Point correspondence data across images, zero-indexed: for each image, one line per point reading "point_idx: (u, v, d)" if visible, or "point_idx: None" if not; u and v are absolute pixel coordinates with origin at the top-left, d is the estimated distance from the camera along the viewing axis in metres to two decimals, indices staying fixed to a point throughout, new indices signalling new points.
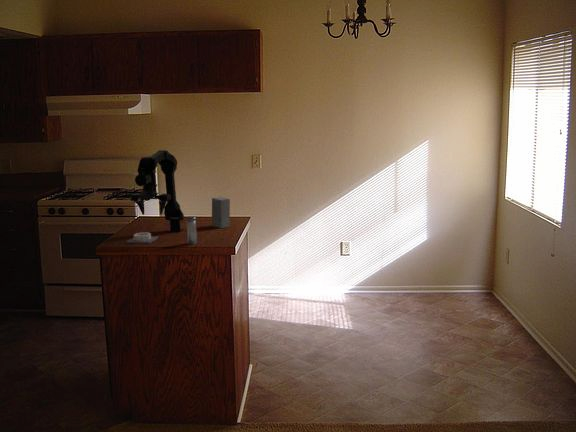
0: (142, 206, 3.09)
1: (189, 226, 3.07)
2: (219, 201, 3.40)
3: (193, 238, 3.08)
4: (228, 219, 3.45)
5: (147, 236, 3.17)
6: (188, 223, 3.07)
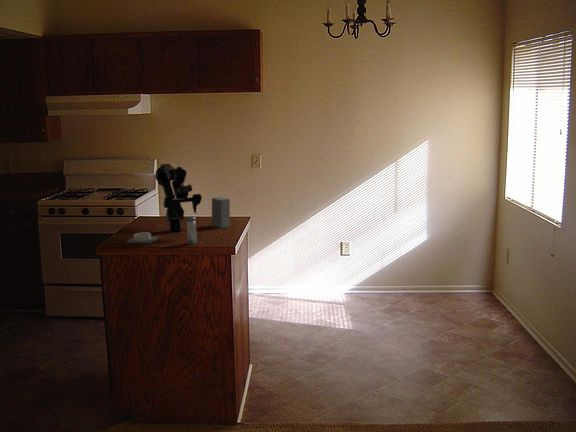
0: None
1: (189, 226, 3.07)
2: (219, 201, 3.40)
3: (193, 238, 3.08)
4: (228, 219, 3.45)
5: (147, 236, 3.17)
6: (188, 223, 3.07)
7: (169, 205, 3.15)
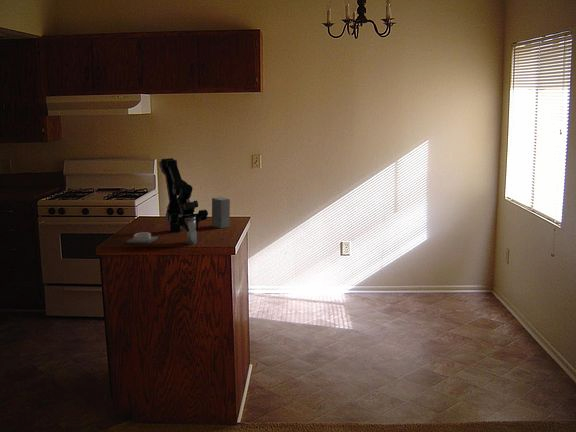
0: None
1: (189, 226, 3.07)
2: (219, 201, 3.40)
3: (193, 238, 3.08)
4: (228, 219, 3.45)
5: (147, 236, 3.17)
6: (188, 223, 3.07)
7: (179, 221, 3.09)
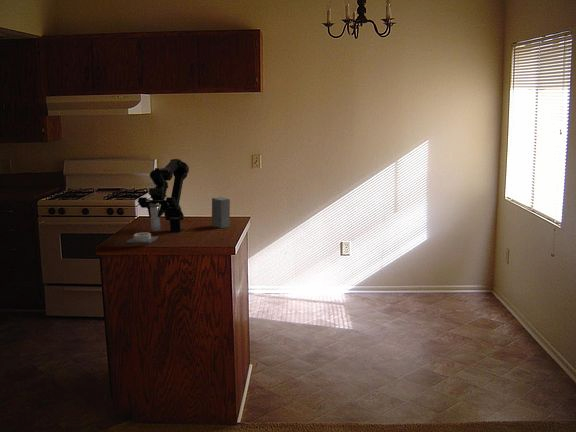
0: None
1: (151, 212, 3.09)
2: (219, 201, 3.40)
3: (154, 224, 3.09)
4: (228, 219, 3.45)
5: (147, 236, 3.17)
6: (150, 209, 3.09)
7: (147, 206, 3.14)
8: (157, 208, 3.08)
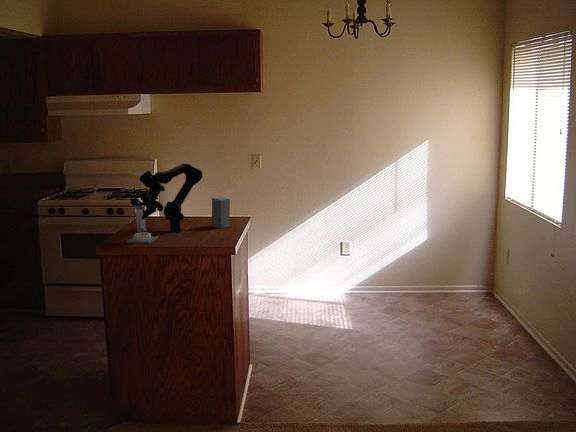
0: None
1: (136, 213, 3.17)
2: (219, 201, 3.40)
3: (138, 225, 3.17)
4: (228, 219, 3.45)
5: (147, 236, 3.17)
6: None
7: None
8: (141, 210, 3.15)
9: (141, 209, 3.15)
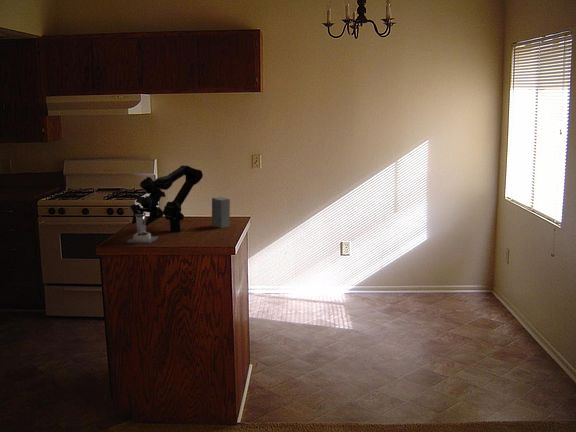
0: None
1: (136, 221, 3.18)
2: (219, 201, 3.40)
3: (138, 233, 3.18)
4: (228, 219, 3.45)
5: (147, 236, 3.17)
6: None
7: None
8: (141, 218, 3.16)
9: (141, 217, 3.16)
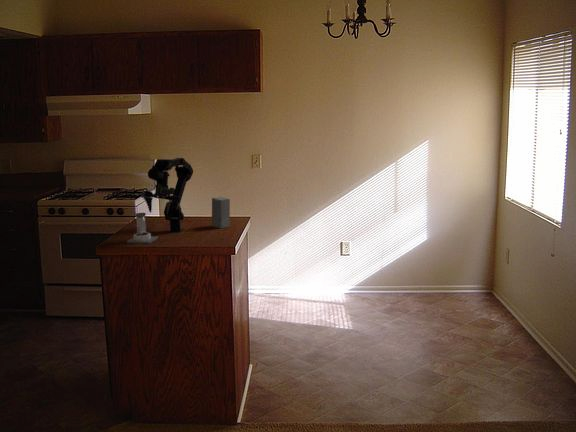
0: None
1: None
2: (219, 201, 3.40)
3: (138, 233, 3.18)
4: (228, 219, 3.45)
5: (147, 236, 3.17)
6: None
7: (146, 199, 3.18)
8: (141, 218, 3.16)
9: (142, 217, 3.16)
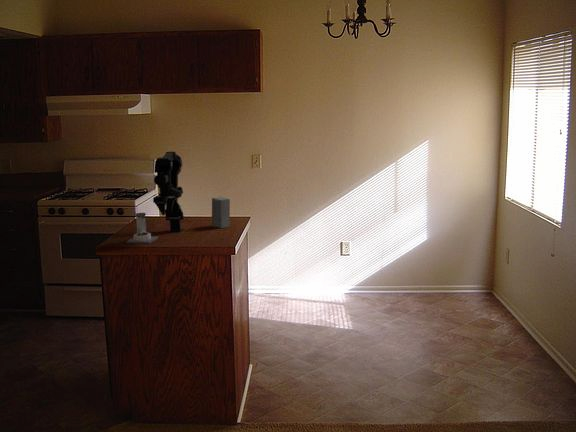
0: None
1: None
2: (219, 201, 3.40)
3: (138, 233, 3.18)
4: (228, 219, 3.45)
5: (147, 236, 3.17)
6: None
7: None
8: (141, 218, 3.16)
9: (142, 217, 3.16)
